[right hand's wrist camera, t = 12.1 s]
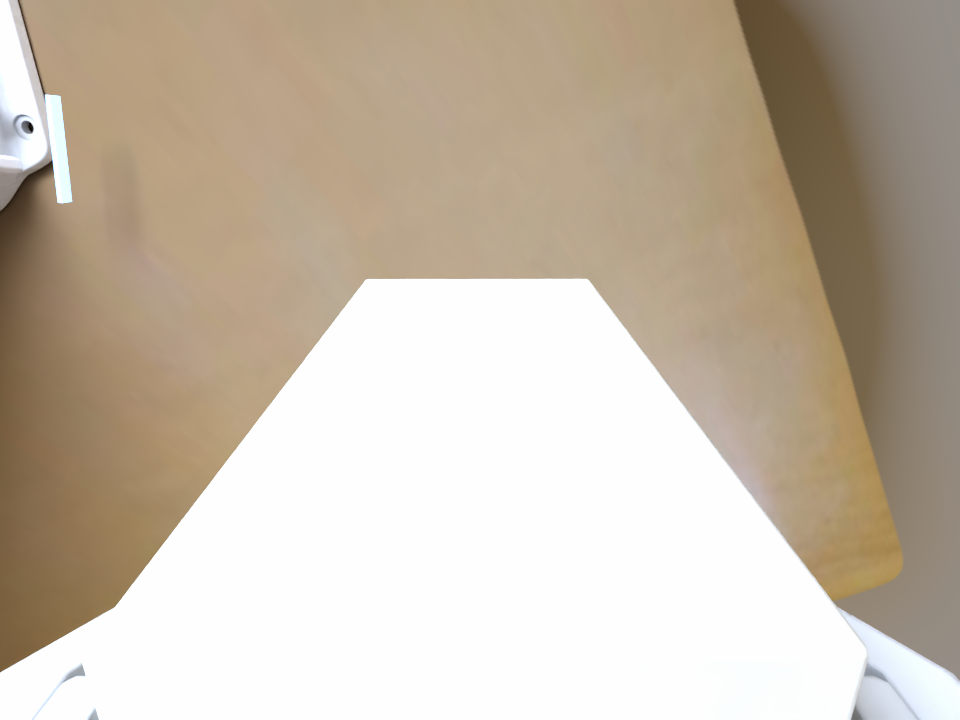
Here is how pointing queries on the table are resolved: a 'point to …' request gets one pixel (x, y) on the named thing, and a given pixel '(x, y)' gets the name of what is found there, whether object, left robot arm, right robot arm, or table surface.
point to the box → (476, 540)
